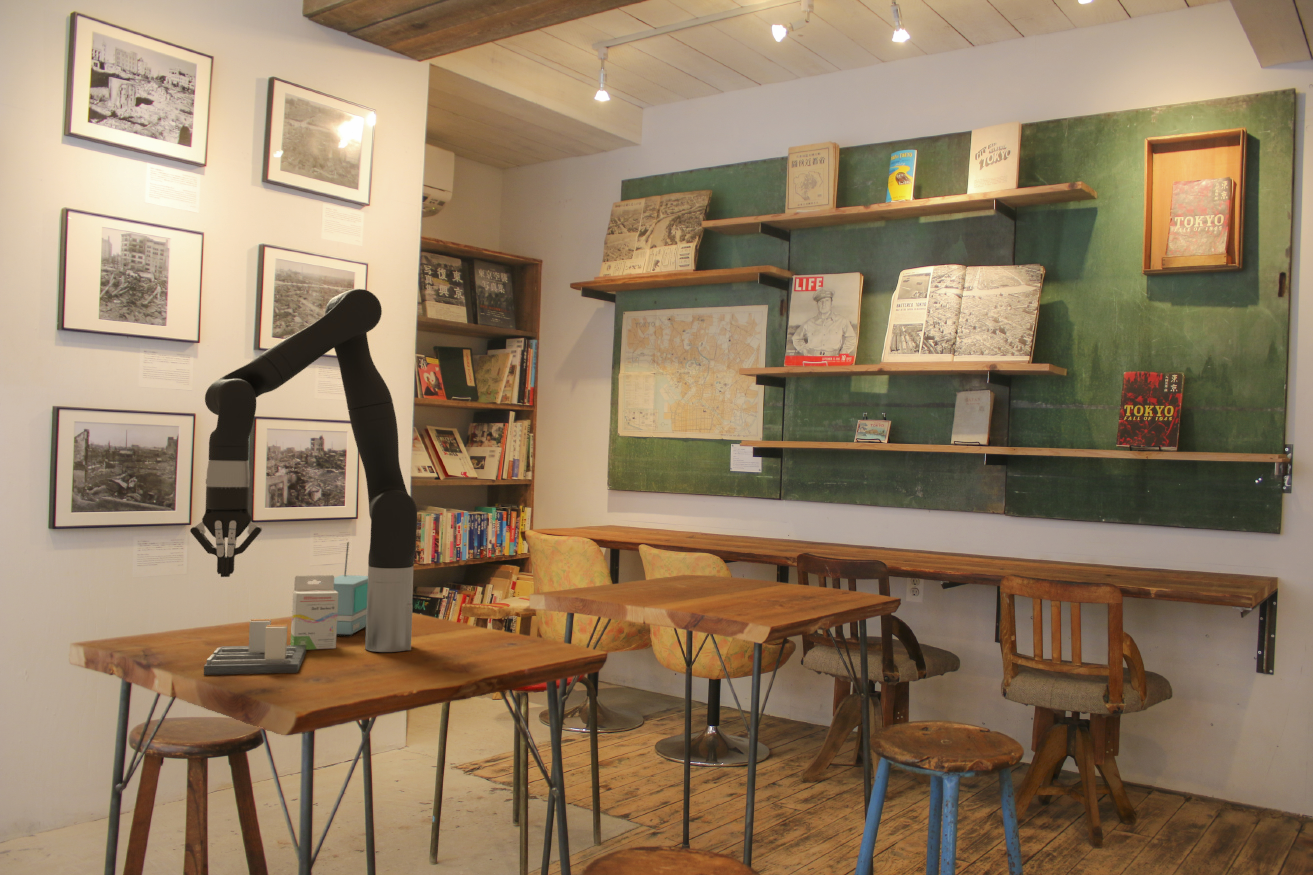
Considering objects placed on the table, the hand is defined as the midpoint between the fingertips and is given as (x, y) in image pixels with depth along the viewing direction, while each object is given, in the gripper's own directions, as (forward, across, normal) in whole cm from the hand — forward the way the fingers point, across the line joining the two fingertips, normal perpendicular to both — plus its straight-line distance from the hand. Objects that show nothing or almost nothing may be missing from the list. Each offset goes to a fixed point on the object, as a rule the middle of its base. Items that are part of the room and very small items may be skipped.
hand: (225, 576), depth 190 cm
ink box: (+17, -16, -16) cm, 28 cm away
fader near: (+15, -10, +5) cm, 18 cm away
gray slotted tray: (+17, -6, -1) cm, 18 cm away
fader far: (+15, -6, -2) cm, 16 cm away
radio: (+17, -22, -35) cm, 45 cm away
